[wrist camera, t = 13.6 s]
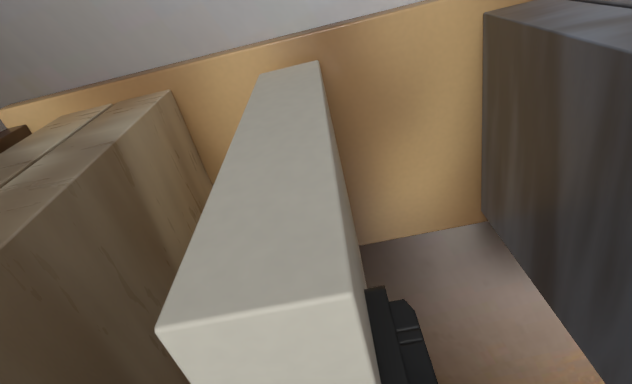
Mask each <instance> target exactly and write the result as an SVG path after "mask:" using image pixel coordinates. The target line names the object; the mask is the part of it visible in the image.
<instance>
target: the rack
mask: <svg viewBox="0 0 632 384" xmlns="http://www.w3.org/2000/svg"><path fill="white" fill-rule="evenodd" d="M315 60H318V61H319V65H320V69H321V74H322V79H323V83H324V88H325V92H326V97H327V102H328V106H329V111H330V115H331V120H332V125H333V129H334V134H335V138H336V143H337V148H338V152H339V157H340V161H341V166H342V171H343V175H344V180H345V184H346V189H347V194H348V198H349V203H350V208H351V212H352V217H353V221H354V226H355V231H356V235H357V240H358V244H359V246H361V245H366V244H371V243H376V242H382V241H387V240H392V239H397V238H402V237H408V236H413V235H418V234H423V233H428V232H434V231H439V230H444V229H449V228H454V227H460V226H465V225H470V224H475V223H480V222H486V221H489V222H490V224H491V225H492V227H493V228H494V229H495V231H496V232H497V234H498V235H499V236H500V238H501V239H502V241H503V242H504V243H505V245H506V246H507V247H508V249H509V250H510V252H511V253H512V254H513V256H514V257H515V259H516V260H517V261H518V263H519V264H520V266H521V267H522V268H523V270H524V271H525V272H526V274H527V275H528V277H529V278H530V279H531V281H532V282H533V284H534V285H535V286H536V288H537V289H538V291H539V292H540V293H541V295H542V296H543V297H544V299H545V300H546V302H547V303H548V304H549V306H550V307H551V309H552V310H553V311H554V313H555V314H556V316H557V317H558V318H559V320H560V321H561V322H562V324H563V325H564V327H565V328H566V329H567V331H568V332H569V334H570V335H571V336H572V338H573V339H574V341H575V342H576V343H577V345H578V346H579V347H580V349H581V350H582V352H583V353H584V354H585V356H586V357H587V359H588V360H589V361H590V363H591V364H592V366H593V367H594V368H595V370H596V371H597V372H598V374H599V375H600V377H601V378H602V379H603V381H604V382H605V384H632V0H425V1H421V2H417V3H413V4H409V5H405V6H401V7H397V8H393V9H389V10H385V11H381V12H377V13H373V14H369V15H365V16H361V17H357V18H353V19H349V20H345V21H341V22H337V23H333V24H329V25H325V26H321V27H317V28H313V29H309V30H305V31H301V32H297V33H293V34H289V35H285V36H281V37H277V38H273V39H269V40H265V41H261V42H257V43H253V44H249V45H245V46H241V47H237V48H233V49H229V50H225V51H221V52H217V53H213V54H209V55H205V56H201V57H197V58H193V59H189V60H185V61H182V62H178V63H174V64H170V65H166V66H162V67H158V68H154V69H150V70H146V71H142V72H138V73H134V74H130V75H126V76H122V77H118V78H114V79H110V80H106V81H102V82H98V83H94V84H90V85H86V86H82V87H78V88H74V89H70V90H66V91H62V92H58V93H54V94H50V95H46V96H42V97H38V98H34V99H30V100H26V101H22V102H18V103H14V104H10V105H8V106H6V107H4V108H1V109H0V119H1V120H2V122H3V123H4V125H5V126H6V127H7V129H6V130H4V131H2V132H0V384H191V383H190V382H189V381H188V379H187V378H186V376H185V375H184V374H183V372H182V371H181V369H180V368H179V366H178V365H177V364H176V362H175V361H174V359H173V358H172V357H171V355H170V354H169V352H168V351H167V349H166V348H165V347H164V345H163V344H162V342H161V341H160V340H159V338H158V337H157V335H156V334H155V325H156V322H157V320H158V318H159V315H160V313H161V310H162V308H163V306H164V303H165V301H166V298H167V296H168V294H169V291H170V289H171V286H172V284H173V281H174V279H175V277H176V274H177V272H178V269H179V267H180V265H181V262H182V260H183V257H184V255H185V253H186V250H187V248H188V245H189V243H190V241H191V238H192V236H193V233H194V231H195V228H196V226H197V224H198V221H199V219H200V216H201V214H202V212H203V209H204V207H205V204H206V202H207V200H208V197H209V195H210V192H211V190H212V187H213V185H214V183H215V180H216V178H217V175H218V173H219V171H220V168H221V166H222V163H223V161H224V159H225V156H226V154H227V151H228V149H229V146H230V144H231V142H232V139H233V137H234V134H235V132H236V130H237V127H238V125H239V122H240V120H241V118H242V115H243V113H244V110H245V108H246V105H247V103H248V101H249V98H250V96H251V93H252V91H253V89H254V86H255V84H256V81H257V79H258V77H259V75H260V74H262V73H266V72H270V71H274V70H278V69H282V68H286V67H290V66H295V65H299V64H303V63H307V62H311V61H315Z"/></svg>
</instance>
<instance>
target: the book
mask: <svg viewBox="0 0 632 384" xmlns="http://www.w3.org/2000/svg"><path fill="white" fill-rule="evenodd" d="M364 289H367V285H366V280H365V275H364V270H363V265H362V260H361V254H360V249H359V244H358V240H357V235H356V231H355V226H354V221H353V217H352V212H351V208H350V203H349V198H348V194H347V189H346V184H345V180H344V175H343V171H342V166H341V161H340V157H339V152H338V148H337V143H336V138H335V134H334V129H333V125H332V120H331V115H330V111H329V106H328V102H327V97H326V92H325V88H324V83H323V79H322V74H321V69H320V65H319V61H318V60H315V61H311V62H307V63H303V64H299V65H295V66H290V67H286V68H282V69H278V70H274V71H270V72H266V73H262V74H260V75H259V77H258V79H257V81H256V84H255V86H254V89H253V91H252V93H251V96H250V98H249V101H248V103H247V105H246V108H245V110H244V113H243V115H242V118H241V120H240V122H239V125H238V127H237V130H236V132H235V134H234V137H233V139H232V142H231V144H230V146H229V149H228V151H227V154H226V156H225V159H224V161H223V163H222V166H221V168H220V171H219V173H218V175H217V178H216V180H215V183H214V185H213V187H212V190H211V192H210V195H209V197H208V200H207V202H206V204H205V207H204V209H203V212H202V214H201V216H200V219H199V221H198V224H197V226H196V228H195V231H194V233H193V236H192V238H191V241H190V243H189V245H188V248H187V250H186V253H185V255H184V257H183V260H182V262H181V265H180V267H179V269H178V272H177V274H176V277H175V279H174V281H173V284H172V286H171V289H170V291H169V294H168V296H167V298H166V301H165V303H164V306H163V308H162V310H161V313H160V315H159V318H158V320H157V322H156V325H155V334H156V335H157V337H158V338H159V340H160V341H161V342H162V344H163V345H164V347H165V348H166V349H167V351H168V352H169V354H170V355H171V357H172V358H173V359H174V361H175V362H176V364H177V365H178V366H179V368H180V369H181V371H182V372H183V374H184V375H185V376H186V378H187V379H188V381H189V382H190V383H191V384H381V380H380V375H379V369H378V364H377V358H376V353H375V348H374V342H373V337H372V331H371V326H370V321H369V315H368V310H367V304H366V299H365V293H364Z"/></svg>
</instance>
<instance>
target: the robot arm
mask: <svg viewBox="0 0 632 384" xmlns="http://www.w3.org/2000/svg"><path fill="white" fill-rule="evenodd" d="M364 293H365V299H366V304H367V310H368V315H369V321H370V326H371V331H372V337H373V342H374V348H375V353H376V358H377V364H378V369H379V375H380V380H381V384H438V382H437V379H436V376H435V373H434V370H433V366H432V363H431V360H430V357H429V354H428V351H427V348H426V345H425V341H424V339H423V335H422V332H421V329H420V326H419V323H418V320H417V317H416V313H415V311H414V310H413V309H412V307H411V306H410V305H409V304H408V303H407V302H406V301H405V300H404V299H402V300H397V301H391V302H389V301H388V297H387V294H386V290H385V286H379V287H373V288H368V289H364Z"/></svg>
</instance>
